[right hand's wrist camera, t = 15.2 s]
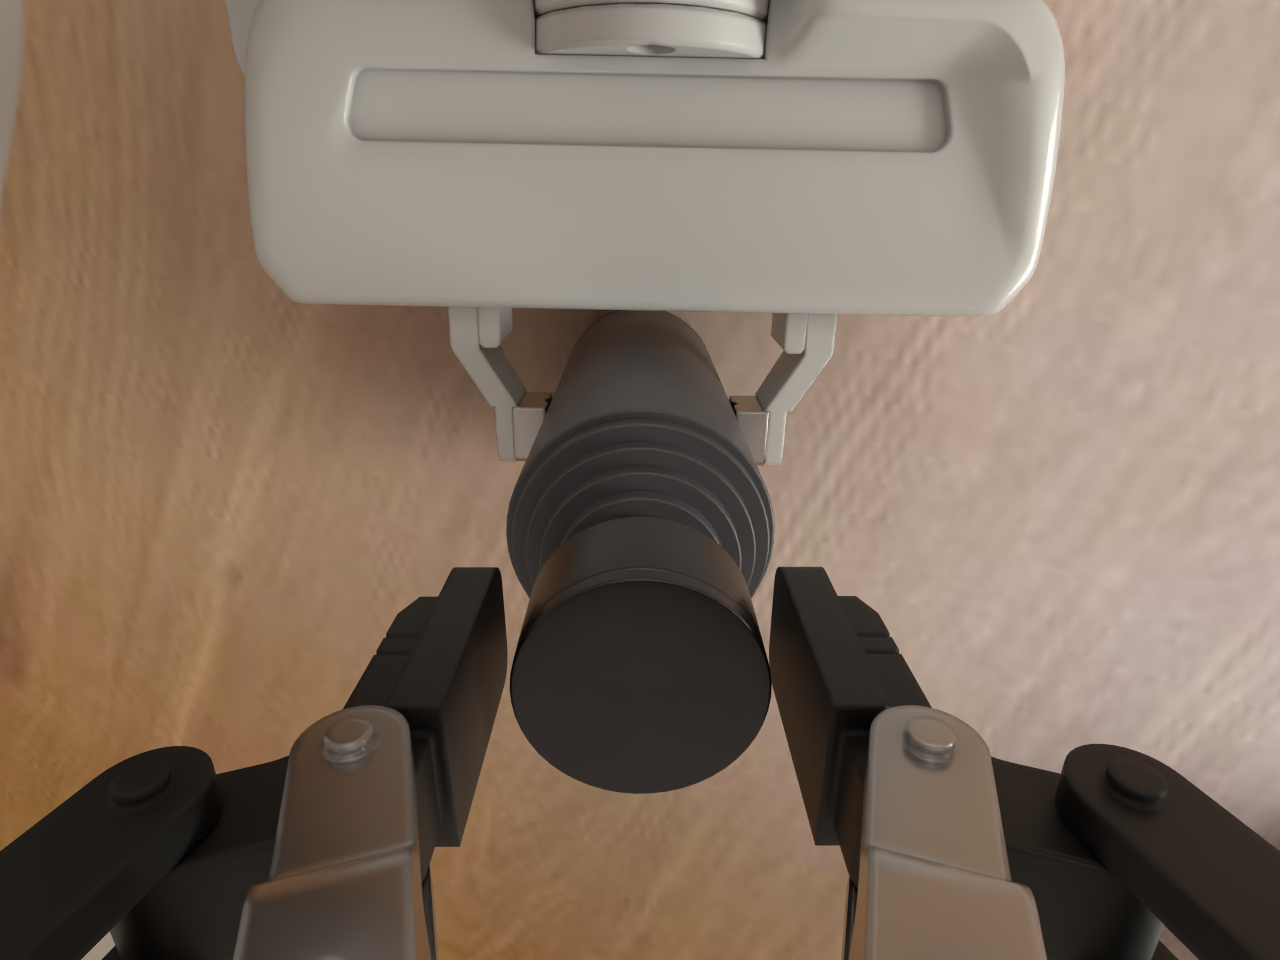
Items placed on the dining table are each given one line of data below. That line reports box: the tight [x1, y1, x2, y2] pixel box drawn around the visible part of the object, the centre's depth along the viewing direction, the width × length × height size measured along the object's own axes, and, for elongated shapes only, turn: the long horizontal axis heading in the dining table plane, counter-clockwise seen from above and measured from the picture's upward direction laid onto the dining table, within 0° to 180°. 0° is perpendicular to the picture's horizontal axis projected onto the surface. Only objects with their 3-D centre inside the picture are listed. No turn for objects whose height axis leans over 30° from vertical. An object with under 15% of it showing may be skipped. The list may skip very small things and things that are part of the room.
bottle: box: [506, 310, 774, 598], centre depth 19 cm, size 6×6×18 cm
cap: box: [510, 517, 772, 794], centre depth 11 cm, size 4×4×2 cm
